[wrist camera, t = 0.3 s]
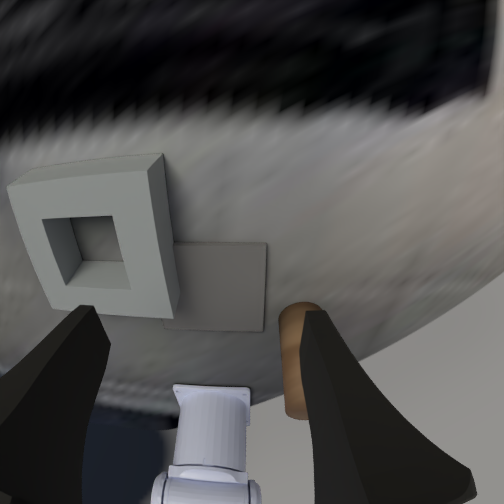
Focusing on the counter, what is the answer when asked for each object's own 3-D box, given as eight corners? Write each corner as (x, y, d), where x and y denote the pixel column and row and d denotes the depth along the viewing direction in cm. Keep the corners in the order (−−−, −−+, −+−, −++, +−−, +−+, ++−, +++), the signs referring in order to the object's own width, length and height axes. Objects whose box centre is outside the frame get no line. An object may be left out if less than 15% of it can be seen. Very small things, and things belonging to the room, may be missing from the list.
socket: (181, 289, 22) (173, 318, 20) (67, 284, 22) (52, 308, 20) (162, 153, 16) (147, 170, 14) (31, 169, 16) (6, 186, 14)
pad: (262, 327, 24) (262, 331, 24) (164, 325, 24) (164, 328, 24) (266, 242, 20) (266, 246, 20) (145, 242, 20) (143, 245, 19)
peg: (320, 332, 25) (335, 417, 18) (277, 333, 25) (282, 421, 18) (327, 301, 23) (348, 392, 16) (280, 302, 23) (288, 396, 16)
